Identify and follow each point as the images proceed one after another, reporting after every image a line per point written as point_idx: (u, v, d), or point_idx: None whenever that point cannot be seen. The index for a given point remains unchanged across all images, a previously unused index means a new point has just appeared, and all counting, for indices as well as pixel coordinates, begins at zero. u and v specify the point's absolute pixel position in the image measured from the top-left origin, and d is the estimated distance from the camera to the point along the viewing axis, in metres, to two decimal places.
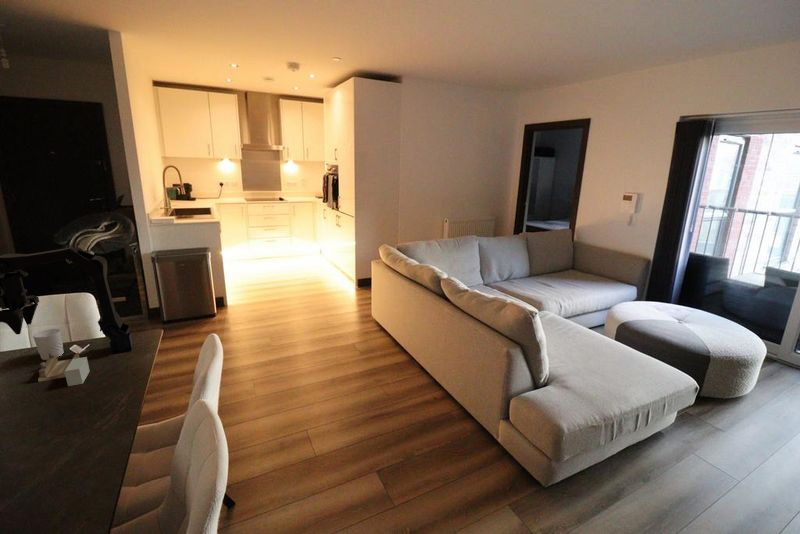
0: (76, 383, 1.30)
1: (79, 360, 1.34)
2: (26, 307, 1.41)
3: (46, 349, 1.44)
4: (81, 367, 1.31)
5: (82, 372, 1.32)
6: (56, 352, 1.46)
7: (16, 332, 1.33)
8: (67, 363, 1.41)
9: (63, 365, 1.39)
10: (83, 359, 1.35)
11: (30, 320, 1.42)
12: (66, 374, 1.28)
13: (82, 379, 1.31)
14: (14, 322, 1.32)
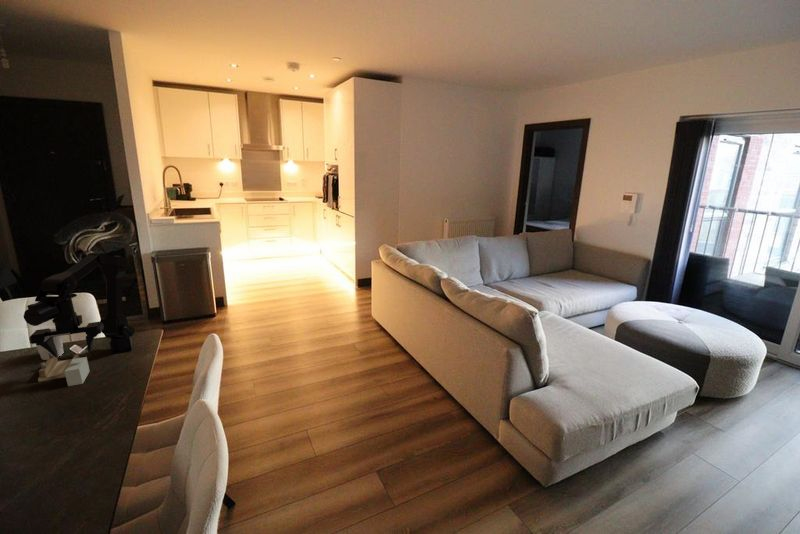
0: (76, 383, 1.30)
1: (79, 360, 1.34)
2: None
3: None
4: (81, 367, 1.31)
5: (82, 372, 1.32)
6: None
7: None
8: (67, 363, 1.41)
9: (63, 365, 1.39)
10: (83, 359, 1.35)
11: None
12: (66, 374, 1.28)
13: (82, 379, 1.31)
14: None
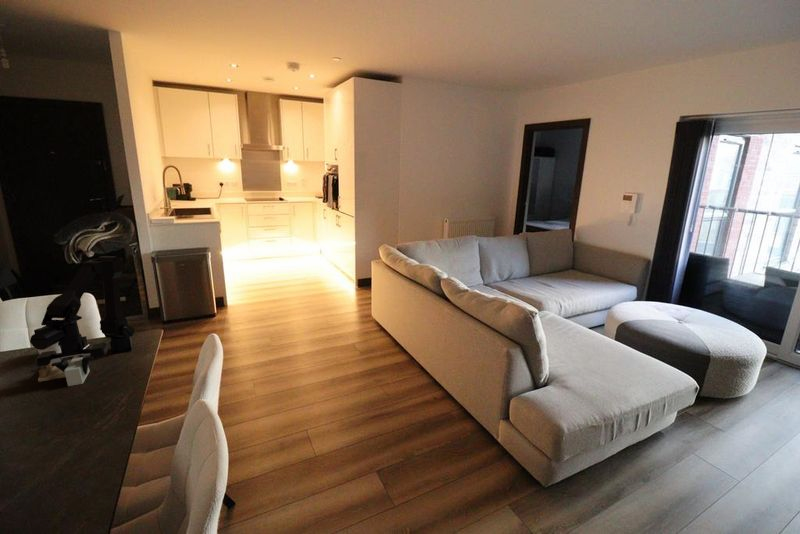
0: (76, 383, 1.30)
1: (79, 360, 1.34)
2: None
3: (46, 349, 1.44)
4: (81, 367, 1.31)
5: (82, 372, 1.31)
6: (56, 352, 1.46)
7: None
8: None
9: None
10: None
11: (84, 371, 1.33)
12: (66, 374, 1.28)
13: (82, 379, 1.31)
14: None
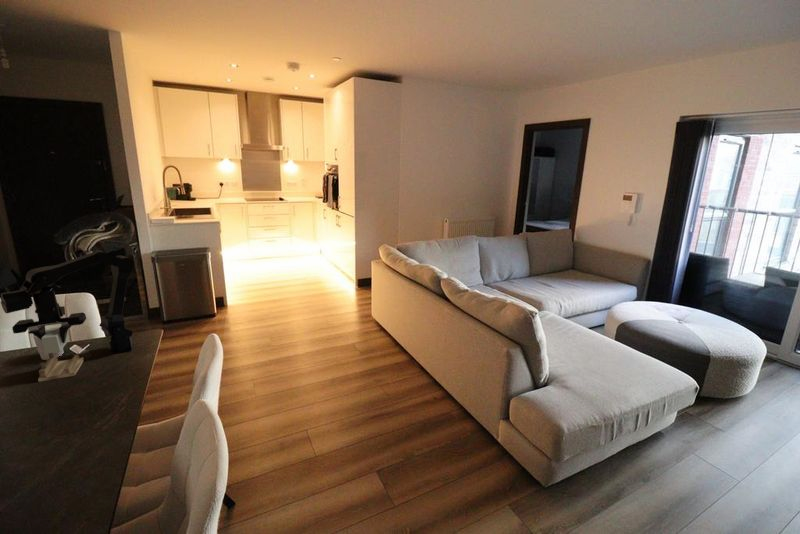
0: (53, 351, 1.32)
1: (56, 329, 1.36)
2: (61, 326, 1.34)
3: None
4: (58, 335, 1.33)
5: (60, 340, 1.33)
6: (56, 352, 1.46)
7: None
8: (67, 363, 1.41)
9: (63, 365, 1.39)
10: None
11: (62, 339, 1.35)
12: (43, 341, 1.30)
13: (60, 347, 1.33)
14: None
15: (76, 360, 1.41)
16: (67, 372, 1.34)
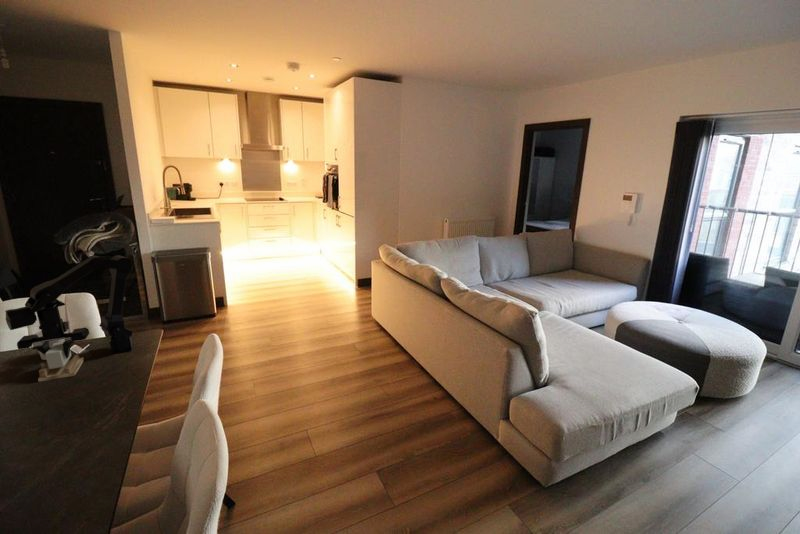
0: (57, 366, 1.33)
1: (60, 344, 1.38)
2: (65, 341, 1.36)
3: None
4: (62, 350, 1.35)
5: (63, 355, 1.35)
6: None
7: None
8: (67, 363, 1.41)
9: None
10: None
11: (65, 354, 1.37)
12: (47, 357, 1.31)
13: (63, 362, 1.35)
14: None
15: (76, 360, 1.41)
16: (67, 372, 1.34)
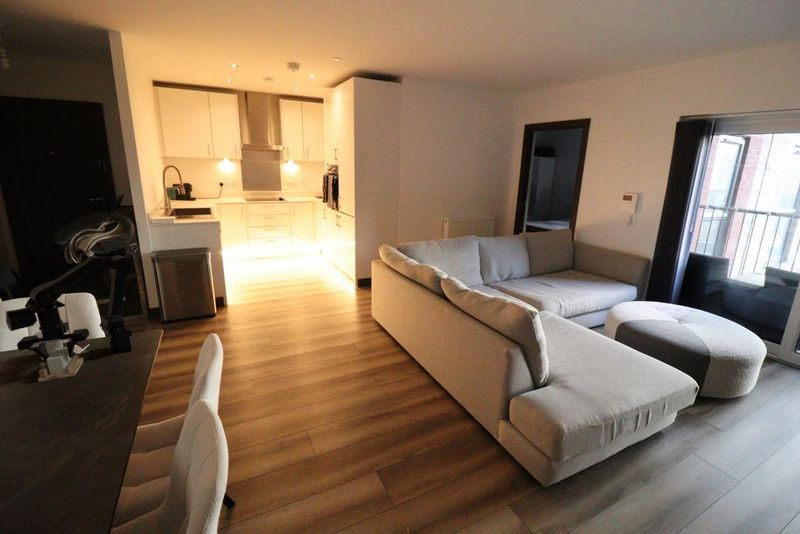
0: (58, 371, 1.34)
1: (62, 350, 1.38)
2: None
3: None
4: (63, 356, 1.35)
5: (64, 361, 1.36)
6: None
7: None
8: None
9: None
10: (66, 349, 1.39)
11: (69, 355, 1.37)
12: (48, 363, 1.32)
13: (64, 368, 1.35)
14: None
15: (76, 360, 1.41)
16: (67, 372, 1.34)
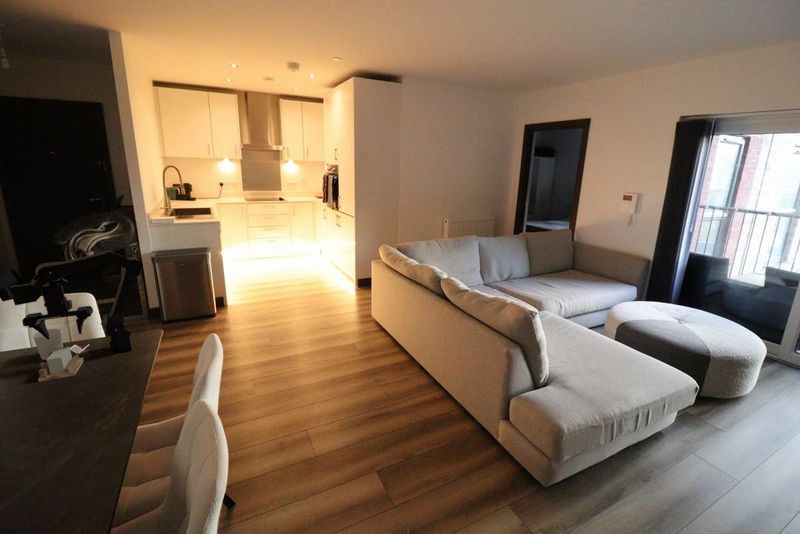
0: (58, 371, 1.34)
1: (62, 350, 1.38)
2: None
3: (46, 349, 1.44)
4: (63, 356, 1.35)
5: (64, 361, 1.36)
6: None
7: None
8: None
9: None
10: (66, 349, 1.39)
11: None
12: (48, 363, 1.32)
13: (64, 368, 1.35)
14: None
15: (76, 360, 1.41)
16: (67, 372, 1.34)
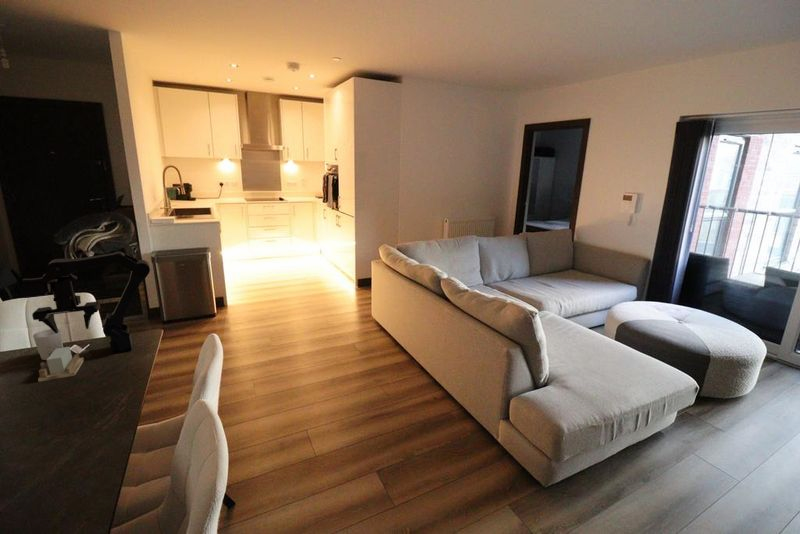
0: (58, 371, 1.34)
1: (62, 350, 1.38)
2: None
3: (46, 349, 1.44)
4: (63, 356, 1.35)
5: (64, 361, 1.36)
6: None
7: None
8: None
9: None
10: (66, 349, 1.39)
11: None
12: (48, 363, 1.32)
13: (64, 368, 1.35)
14: None
15: (76, 360, 1.41)
16: (67, 372, 1.34)
